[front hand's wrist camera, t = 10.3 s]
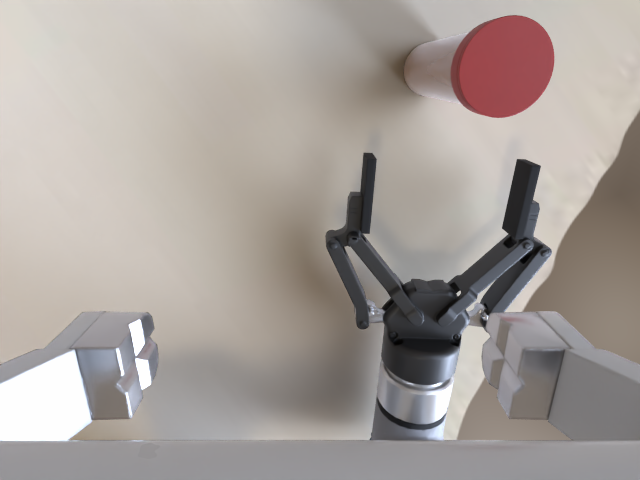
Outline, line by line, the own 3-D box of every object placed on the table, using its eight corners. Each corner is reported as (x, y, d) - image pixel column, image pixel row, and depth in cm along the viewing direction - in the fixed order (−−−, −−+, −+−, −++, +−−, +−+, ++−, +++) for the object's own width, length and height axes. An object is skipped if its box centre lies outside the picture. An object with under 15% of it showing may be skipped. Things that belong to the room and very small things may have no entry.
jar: (418, 33, 38) (489, 7, 23) (462, 55, 39) (561, 45, 23) (394, 83, 39) (446, 91, 24) (438, 103, 40) (515, 124, 25)
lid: (479, 2, 23) (491, -3, 22) (557, 43, 24) (574, 41, 23) (433, 93, 25) (441, 94, 24) (508, 128, 26) (520, 132, 25)
